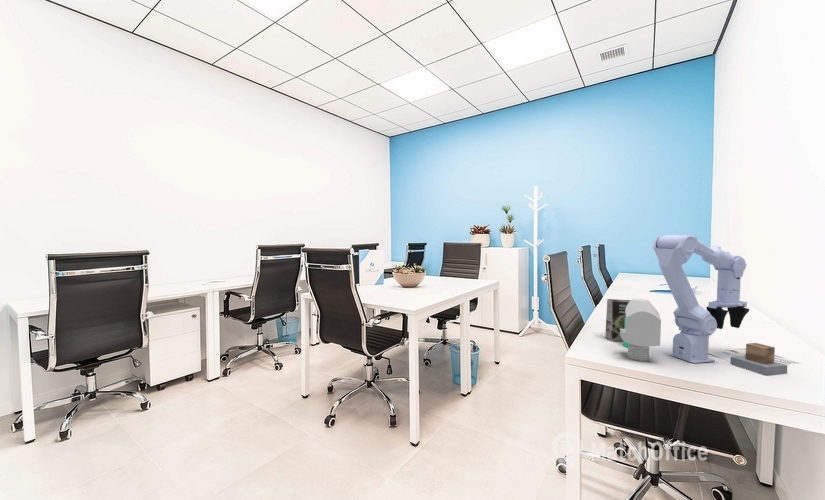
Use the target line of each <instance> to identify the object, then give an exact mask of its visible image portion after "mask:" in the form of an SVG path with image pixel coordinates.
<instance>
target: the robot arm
mask: <svg viewBox="0 0 825 500" xmlns="http://www.w3.org/2000/svg"><path fill="white" fill-rule="evenodd" d="M652 248H653V250H654V253H655V255H656V257H657V259H658V265H659V268H660V270H661V273H662V275H663V278H664V279H665V281H666V283H667V285H668V288H669V291H670V292H671V294H672V297H673V298H674V300H675V303H676V305H677V307H676V308H675V309H674V311H673V315H674V323H675V325H676V327H678V331H680V332H679V333H676V334H675V335H674V336H673V339H672V353H669V355H670V356H672V357H675V358H677V359H681V360H683V361H687V362H689V363H692V364H701V363H711V362H715V361H716V359H713V358H710V357H709V346H710V345H709V339H710V336H712V335H713V334H714V333H715V332H716V331H717V329H719V330H723V328H724V324H725V319H726V316H727V315H729V322H730V323H729V324H730V327H731V328H736V329H739V328H740V327H741V325H742V322H743V320H744V318H745V316H747V314H748V313H749V312H750V308H747V306H748V301H743V300H740V297H741V281H742V280H741V279H742V277H743V276H744V272H745V270H746V269H747V263H746V260H745V259H744V257H742V256H740V255H734V254H732V253H731V252H729V251H725V250H723V249H721V246H717V245H716V246H708V245H706V244H704V243H702V241H700V240H698V238H697V236H694V235H692V234H661V235H658V236H657V237H656V238H655V240H654V242H653V246H652ZM693 254H696V255H697V256H700V257H701V259H702V261H704V262H706V263H707V264H710V265H712V266H713V268H714V270H715V271H717V282H716V283H717V284H716V285H717V286H716V287H717V288H716V300H713V301H708V304H707V305H708V306H706V308H704V307H702V306H701V305H700V304H699V301H698V300H697V297H696V295H695V293H694V291H693V288H692V286H691V284H690V282H689V280H688V277H687V274H686V273H685V271H684V268H683V267H682V265H684V264H686V263H688V261H689V259H690V258H691V257H692V255H693ZM725 308H727V309H725Z"/></svg>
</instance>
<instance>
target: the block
mask: <svg viewBox="0 0 825 500" xmlns="http://www.w3.org/2000/svg"><path fill="white" fill-rule="evenodd" d="M775 351H776V349H775V346H771V345H766V344H762V343H758V342H752V343H746V344H745V355H746V358H745V359H747V360H750V361H754V362H757V363H761V364H772V363H774V362H775Z"/></svg>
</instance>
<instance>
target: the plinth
mask: <svg viewBox="0 0 825 500" xmlns="http://www.w3.org/2000/svg"><path fill="white" fill-rule="evenodd" d="M745 358H746V354H744V355H734V356H733V355H731V356H730V360H729V361H730V363H729V364H730V365H731V364H732V365H731V366H734V365H735V367H738V368H741V367H742V368H741V369H744V368H746V369H745V370H747V369H748V371H750V370H751V371H750V372H753V373H757V374H758V375H759V374H760V375H763V376H773V375H783V374H788V364H784V363H781V362H778V361H774V363H772V364H761V363H757V362H754V361H750V360H747V359H745Z"/></svg>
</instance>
